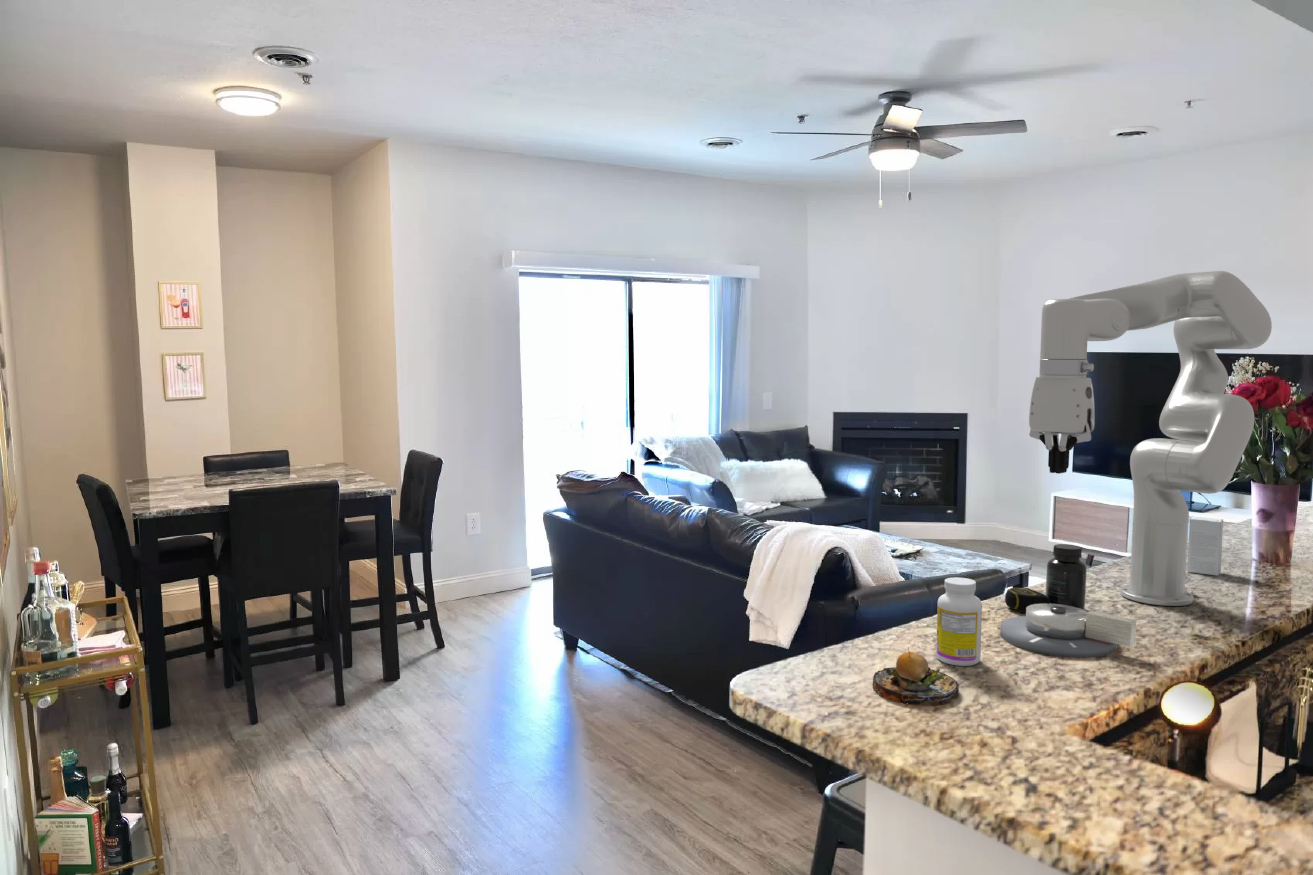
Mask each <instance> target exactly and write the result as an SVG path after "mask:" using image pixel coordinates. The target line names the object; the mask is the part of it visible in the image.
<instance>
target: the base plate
mask: <svg viewBox="0 0 1313 875" xmlns="http://www.w3.org/2000/svg"><path fill="white" fill-rule="evenodd" d="M999 626H1000V627H999V628H1000V629H999V635H1000V637H1001V639H1002V640H1004V641H1005V642H1007V643H1009V644H1011V645H1013V646H1015V647H1018V648H1020V649H1023V650H1025V651H1030V652H1035V653H1037V654H1043V655H1048V656H1056V657H1064V658H1076V659H1077V658H1082V659H1083V658H1085V659H1086V658H1099V657H1104V656H1107V655H1108V656H1109V655H1110V654H1113V653H1114V652H1116V650H1117V645H1118V644H1114V643H1110V642H1105V641H1101V640H1097V639H1092V638H1088V637H1083V638H1075V639H1066V638H1055V637H1049V636H1044V635H1040V634H1037V633H1034V632H1032V631H1030V630H1028V629H1027V628H1026V615H1024V616H1023V615H1022V616H1014V617H1011V618H1007V619H1005V620H1002V622H1001V623H1000V625H999Z"/></svg>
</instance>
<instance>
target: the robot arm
mask: <svg viewBox="0 0 1313 875" xmlns="http://www.w3.org/2000/svg"><path fill="white" fill-rule="evenodd" d="M1269 313H1270V312H1269V311H1268V310H1267V308H1266V307H1265V305H1264V304H1263V303H1262V302H1261V301H1260V300H1259V299H1258V297H1257V296H1256V295H1255V293H1253V291H1252V290H1251V289H1250V288H1249V287H1248V286H1247V285H1246V284H1245V283H1244V282H1243V281H1242V280H1241V279H1240V278H1239V277H1238V276H1236V275H1234V274H1233V273H1230V272H1229V271H1225V270H1216V271H1215V270H1214V271H1213V270H1212V271H1202V272H1200V271H1199V272H1187V273H1179V274H1178V273H1177V274H1173V275H1168V276H1165V277H1161V278H1158V279H1155V280H1154V279H1153V280H1150V281H1145V282H1141V283H1137V284H1132V285H1127V286H1126V285H1125V286H1122V287H1117V288H1113V289H1108V290H1103V291H1099V292H1098V291H1097V292H1094V293H1088V294H1087V293H1086V294H1083V295H1078V296H1073V297H1069V298H1057V299H1056V298H1055V299H1049V300H1047V301H1046V302H1044V303H1043V306H1042V309H1041V328H1040V349H1039V350H1040V353H1039V354H1040V355H1039V357H1040V358H1039V375H1038V376H1037V377H1035V379H1034V383H1033V388H1032V392H1031V397H1030V402H1029V404H1030V405H1029V415H1028V422H1029V423H1028V424H1029V429H1030V431H1029V433H1028V434H1029V437H1031V438H1033V439H1035V440H1039V441H1040V442H1041V443H1043V445H1044V446H1045V448H1046V450H1047V451H1048V458H1047V460H1048V461H1047V462H1048V464H1047V466H1048V468H1049V473H1050V474H1066V473H1067V471H1068V469H1069V466H1070V451H1072V450H1073V448H1074V447H1076V445H1077V444H1079V443H1084V442H1085V443H1086V442H1090V441H1091V440H1092V432H1093V431H1094V430H1095V425H1096V424H1095V420H1096V418H1095V416H1096V415H1095V413H1096V412H1095V396H1094V387H1093V381H1092V379H1091V377H1087V375H1088V372H1093V371H1094V369H1095V364H1094V363H1089V361H1088V359H1087V358H1088V357H1087V356H1088V354H1087V353H1088V342H1108V341H1115V340H1116V339H1119V338H1121V337H1122V336H1123V335H1124V334H1125V333H1127V331H1138V330H1146V329H1151V328H1154V327H1158V326H1161V325H1164V324H1168V323H1172V322H1174V324H1173V337H1174V340H1175V344H1176V348H1177V351H1178V355H1179V361H1180V371H1179V374H1178V377H1177V379H1176V381H1175V383H1174V385H1173V386H1172V390H1171V391H1170V394H1169V396H1168V398H1167V399H1166V402H1165V404H1164V406H1163V408H1162V410H1161V413H1160V415H1159V419H1158V420H1159V421H1158V423H1159V424H1158V425H1159V430H1160V431H1161V433H1163V435H1165V436H1166V437H1168V438H1159V437H1158V438H1154V437H1153V438H1149V439H1148V438H1147V439H1145V440H1142V441H1141V442H1139V443H1137V444H1136V445H1135V446H1134V447H1133V449H1132V451H1131V454H1130V458H1129V459H1130V460H1129V466H1130V468H1129V469H1130V474H1131V480H1132V486H1133V488H1132V489H1133V514H1132V530H1131V531H1132V532H1131V533H1132V535H1131V550H1130V551H1131V552H1130V553H1131V554H1130V569H1129V573H1130V574H1129V584H1126V585H1125V584H1124V585H1123V586H1121V588H1120V595H1121V597H1124V598H1126V599H1129V600H1131V601H1135V602H1138V603H1143V604H1148V605H1153V606H1154V605H1156V606H1164V607H1166V606H1167V607H1181V606H1182V607H1183V606H1188V605H1191V604H1192V603H1194V595H1193V594H1192V593H1190V592H1188V591H1186V590H1185V588H1186V586H1185V585H1186V582H1187V581H1188V575H1187V574H1186V571H1187V570H1186V568H1187V556H1188V554H1187V553H1188V552H1187V550H1188V539H1189V524H1190V513H1189V512H1190V511H1189V506H1188V504H1187V502H1186V500H1185V498H1184V496H1183V494H1182V492H1181V491H1184V492H1192V493H1198V494H1199V493H1200V494H1217V493H1219V492H1221V491H1223V490H1224V489H1225V488H1226V487H1227V486H1228V485H1229V483H1230V481H1231V480H1232V478H1233V476H1234V474H1235V472H1236V469H1237V467H1238V465H1239V463H1240V461H1241V458H1242V456H1243V454H1244V453H1245V450H1246V447H1247V445H1248V443H1249V441H1250V440H1251V439H1250V438H1251V436H1252V434H1253V431H1254V425H1255V413H1254V408H1253V405H1252V404H1251V403H1250V402H1249V401H1248V400H1247V399H1246V398H1245V397H1242V396H1240V395H1237V394H1231V393H1230V394H1228V393H1225V391H1226V389H1227V386H1228V383H1229V375H1228V371H1227V369H1226V367H1225V365H1224V364H1223V362H1222V361H1221V360H1220V359H1219V357H1218V355H1217V353H1216V352H1215V350H1251V349H1256V348H1259V347H1261V346H1263V345H1265V343H1267V341H1268V339H1269V338H1270V337H1271V333H1272V327H1273V323H1272V318H1271V316H1270V314H1269ZM1059 434H1060V435H1059Z"/></svg>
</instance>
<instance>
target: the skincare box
mask: <svg viewBox="0 0 1313 875" xmlns="http://www.w3.org/2000/svg"><path fill="white" fill-rule="evenodd" d="M1223 529H1224V519H1223V518H1212V517H1204V516H1203V517H1202V516H1192V517H1191V518H1189V524H1188V547H1187V550H1188V552H1187V553H1188V554H1187V573H1193V574H1194V573H1195V574H1201V575H1209V576H1215V577H1216V576H1220V574H1221V572H1222V555H1223V554H1222V551H1223Z"/></svg>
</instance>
